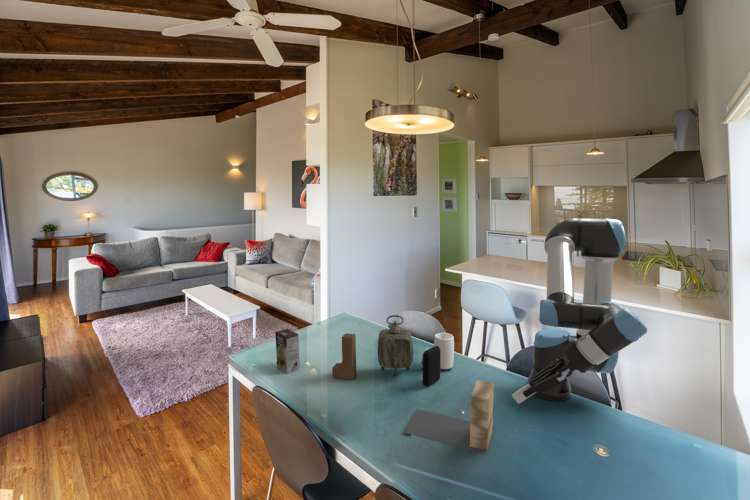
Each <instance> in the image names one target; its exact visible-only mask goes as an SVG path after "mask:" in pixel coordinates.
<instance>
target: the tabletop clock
mask: <svg viewBox="0 0 750 500" xmlns="http://www.w3.org/2000/svg"><path fill="white" fill-rule="evenodd" d="M390 318H400V319H401V320H402V321H401V322H398V323H397V321H394V322H393V323H392V322H390V321H389V319H390ZM404 321H405V320H404V318H403V317H402V316H401V315H398V314H393V315H392V314H391V315H390V316H387V317H386V323H387V324H388V325H391V326H390V327H389V328H385V329H382V330H380V331H379V333H378V338H377V359H378V364H379V366H380V370H381V371H384V370H385V369H394V372H393V376H394V377H397V376H398V372H397V369H405V370H406V371H410V369H411V366H412V364H413V360H414V344H413V337H412V333H411V331H410V330H408V329H406V328H405V329H404V328H401V327H400V325H403V323H404Z"/></svg>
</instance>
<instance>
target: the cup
mask: <svg viewBox="0 0 750 500" xmlns="http://www.w3.org/2000/svg"><path fill="white" fill-rule="evenodd" d="M454 337H455V336H453V334H451V333H448V332H439V333H436V334H434V341H433V343H434V344H433V347H434V346H438V347H439V348H440V370H449V369H452V368H454V361H455V360H454V359H455V358H454V357H455V339H454Z"/></svg>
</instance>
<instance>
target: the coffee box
mask: <svg viewBox="0 0 750 500" xmlns="http://www.w3.org/2000/svg"><path fill="white" fill-rule="evenodd" d="M274 332H275V334H274V335H275V347H276V351H275V352H276V367H277V368H278V369H279V370H281V371H282V372H284V373H285V374H287V375H289V374H292V373H294V372H297V371H300V370H301V369H300V368H301V367H300V366H301V365H300V340H299V338H300V337H299V336H300V335H299V333H298V332H295V331H293V330H291V329H290V328H286V329H281V330H277V331H274Z"/></svg>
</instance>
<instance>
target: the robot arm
mask: <svg viewBox="0 0 750 500" xmlns="http://www.w3.org/2000/svg"><path fill="white" fill-rule="evenodd" d="M626 239H627V237H626V233H625V228H624V224H623V222H622V221H621V220H620V219H615V218H614V219H613V218H606V217H605V218H576V217H575V218H568V219H567V218H566V219H565V220H561V221H560V222H558V223H557V224H555V225H554V226H553V227H552V228H551V229H550V230H549V231H548V233H547V235H546V237H545V239H544V252H545V253H546V255H547V261H546V262H547V264H546V265H547V266H546V268H547V269H546V271H547V273H546V299H541V300H540V302H539V313H538V315H539V316H538V321H539V323H540V324H541V325H544V326H547V327H548V326H549V327H548V328H543V329H540V330H538V331H537V332H535V335H534V341H533V347H534V348H533V361H532V369H531V371H530V374H529V376H528V379H527V382H526V384H525V385H524V386H522V387H520V388H519V389H518V390H516V391H514V392H513V393H512V394H511V397H512V398H513V399H514V401H516V402H517V404H518V405H520V404H521V403H522V402H524V401H526V400H527V399H529V398H530V397H532V396H533V395H534V396H536V397H538V398H540V399H543V400H547V401H555V402H558V401H559V402H561V401H565V400H569V399H570V398H571V397H572V387H571V383H570V380H569V377H570V376H571V375H573V373H574V372H575V371H578V372H579V373H582V374H585V373H586V372H593V373H597V374H611V373H612V372H614V371H615V368H616V367H617V364H618V359H619V353H620V351H621V350H623V349H624V348H626V347H628V346H630V345H631V344H633V343H635V342H637V341H638V340H639V339H641V338H642V337H643V336H645V335H646V334H647V332H648V327H647V326H646V325H645V324H644V323H643V321H642V320H641V319H640V318H639V317H638V316H637V315H636V314H635V313H634V312H633V311H631V310H630V309H629V308H626V307H625V308H622V307H621V306H620V305H619V304H617V303H615V302H612V293H613V292H612V291H613V290H612V289H613V276H614V275H613V274H614V263H615V262H616V261H617V260H619V259H620V254H624V253H625V251H626V245H627V244H626V243H627V242H626ZM574 252H580V257H581V258H582V260H584V262H585V263H584V279H583V294H582V295H583V296H582V302H577V301H575V292H574V291H575V288H574V286H575V285H574V271H573V270H574V268H573V267H574V266H573V253H574ZM550 327H551V328H550ZM562 328H567V329H576V333H575V335H571V333H570V331H568V330H566V329H562Z"/></svg>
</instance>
